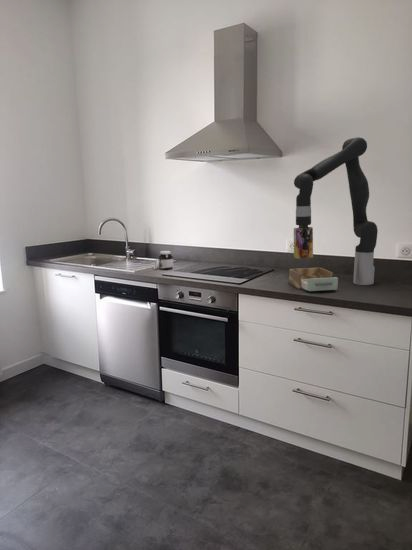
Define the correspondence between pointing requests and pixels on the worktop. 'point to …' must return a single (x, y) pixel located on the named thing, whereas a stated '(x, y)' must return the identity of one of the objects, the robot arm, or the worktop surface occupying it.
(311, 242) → the candy box
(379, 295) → the worktop surface
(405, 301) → the worktop surface
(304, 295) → the worktop surface
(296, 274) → the caddy
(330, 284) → the white boxy piece
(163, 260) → the spread jar
